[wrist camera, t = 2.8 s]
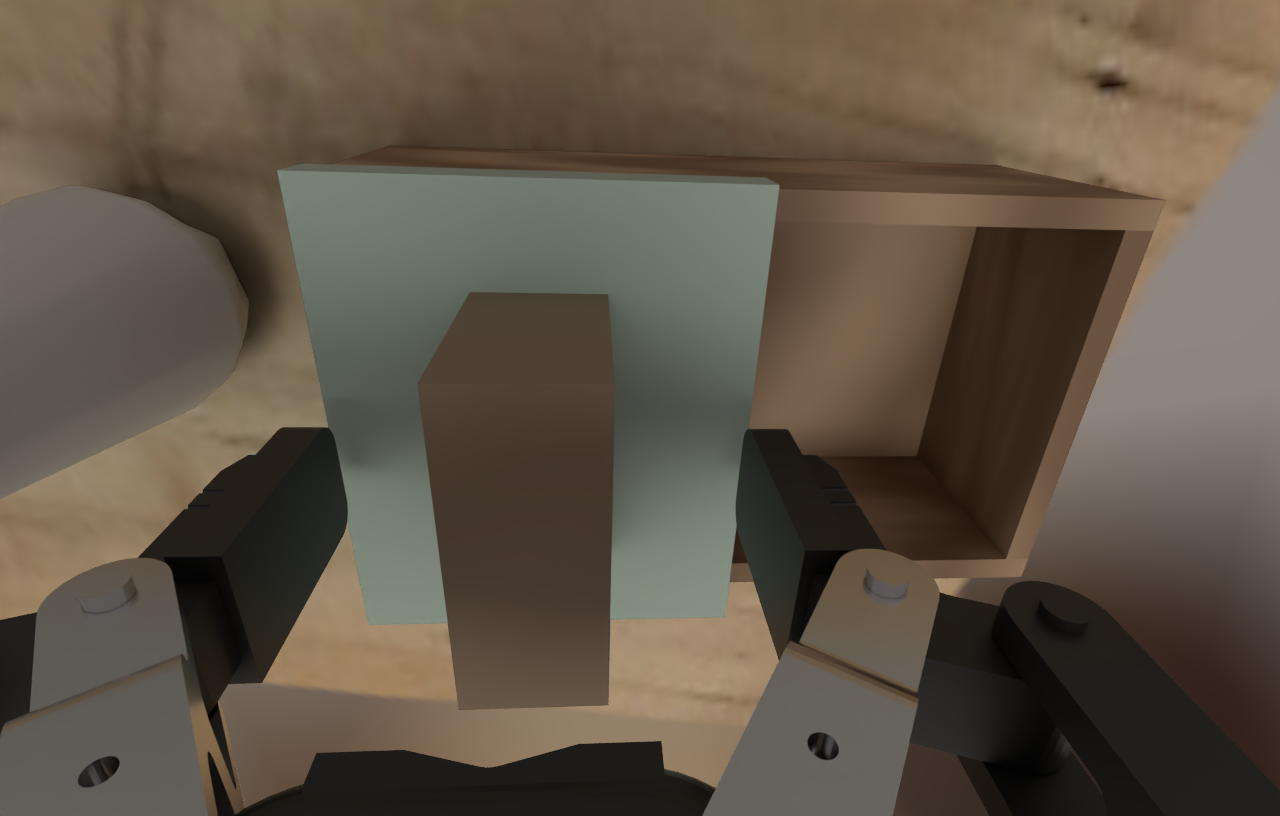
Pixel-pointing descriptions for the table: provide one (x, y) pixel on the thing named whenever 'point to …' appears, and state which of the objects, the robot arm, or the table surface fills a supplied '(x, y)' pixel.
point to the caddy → (918, 331)
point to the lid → (534, 400)
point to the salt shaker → (105, 325)
